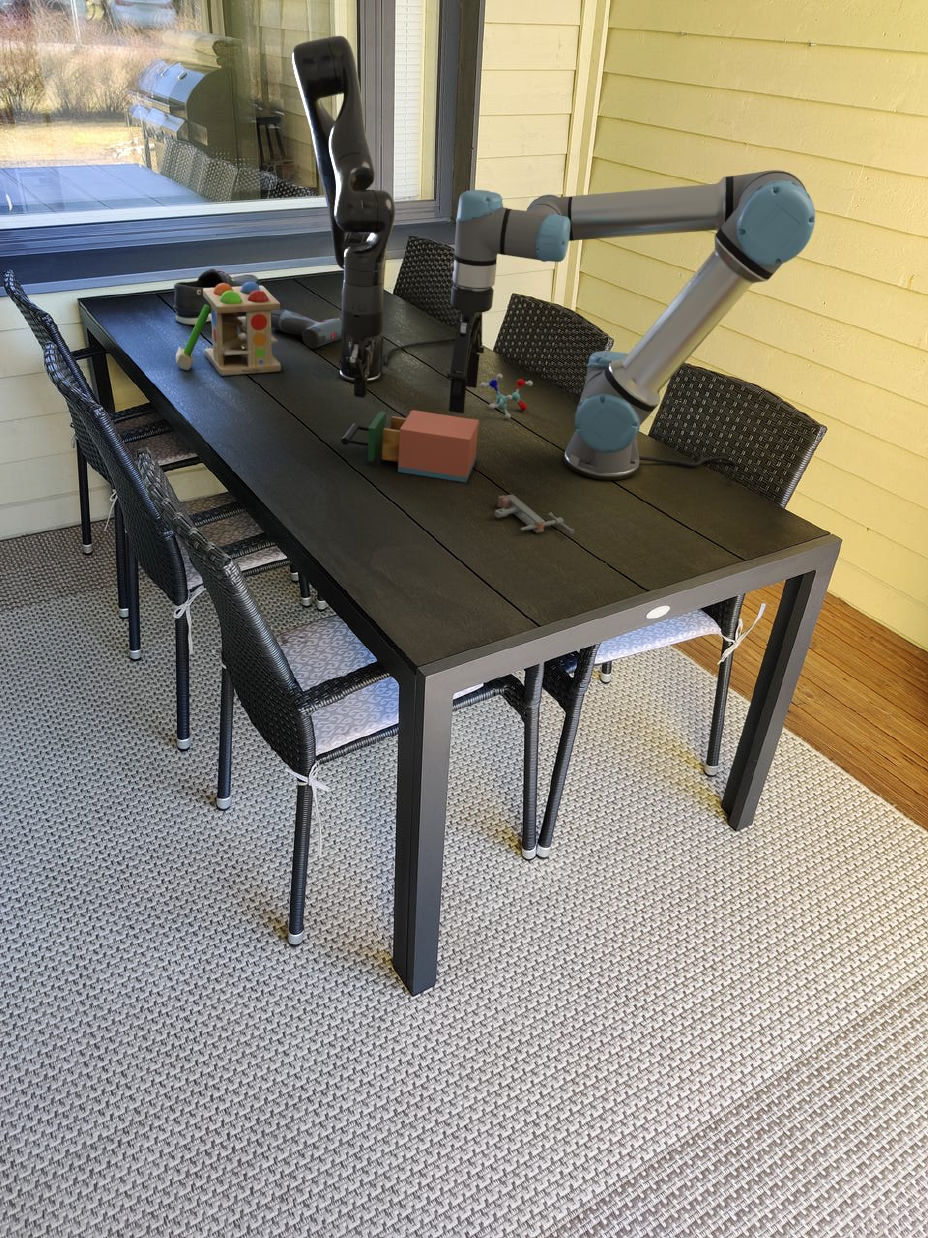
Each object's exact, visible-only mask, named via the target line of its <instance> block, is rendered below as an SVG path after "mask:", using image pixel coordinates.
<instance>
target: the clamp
mask: <svg viewBox="0 0 928 1238" xmlns="http://www.w3.org/2000/svg"><path fill="white" fill-rule="evenodd" d="M497 508H498V509H495V510H494V516H495V517H496V518H497V519H499V518H505V517H507V516H508V515H512V514H513V515H514V516H516V517H517V518H518V519H519V520H521V522H523V523H524V524H525V526H523V527H520V531H521V532H523V531H531V530H532V531H534V532H535V533H536V534H537V533H538V534H540V533H542V532H544V531H545V527H549V526H562V527H563V528H564V529H565V530H567V531H568V533H569V534H570V535H573V534H574V533H575V529H574V528H570V527H569V526H568V525H566V524H565V523H564V519H563V518H562V517H561V516H560V517H556V516H555V515H554V514H553V512H549V513H548V514H547V517H548V518H551V520H548V521H546V520H545V519H543V518H542V517H541V516H540V515H539V514H537V513H536V512H535V511H534V510H532V509H531V508H530V507H529V506H528V505H526V504H525V503H524V502H523V501H522V500H520V499H519V498H518V497H517V496H515V495H514V494H508V495H499V496H498V499H497ZM552 519H553V520H552Z"/></svg>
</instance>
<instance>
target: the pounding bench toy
mask: <svg viewBox="0 0 928 1238" xmlns="http://www.w3.org/2000/svg"><path fill="white" fill-rule="evenodd" d="M203 296H204V297H205V299H206V300H207V301H208V302H209V304H210V305H211V307H210V306H208V305H204V307H203V309H202V311H201V314H200V316H199V318H198V320H197V322H196V324H194V327H193V329H192V331H191V332H190V333H191V334H190V336H189V338H188V340H187V343H186V344H185V347H184V348H182V347H180V346H179V347H178V349H177V351H176V354H175V357H174V358H175V362H176V365H177V366H178V368H179V369H182V370H185V371H189V370H190V369H191V367H192V365H193V363H194V356H193V351H194V348H195V347H196V345H197V342H198V340H199V337H200V336H201V333H202V332H203V329H204V326H205V325H206V323H207V322H206V320H207V318H209V320H210V321H209V322H211V336H212V337H211V338H212V339H211V340H212V348H205V349H204V352H205V353H204V355H205V357H206V359H208V361H209V363H210V364H211V365H212V366H213V367H214V369H215V370H216V371H217V372H218V374H219V375H220V376H222V377H223V376H234V375H235V376H236V375H246V374H247V375H250V374H262V373H275V372H281V370H282V364H281V363H280V362H279V360H278V359H277V358H276V357H275V356H274V355H273V348H272V347H273V345H272V344H276V343H278V342H279V341H278V339H277V338H276V337H275V336H274V334H272V327H271V310H280V309H281V304H280V301H278V300H277V299H276V297H274V296H273V295H272V294H271V293H270V292H269V290H268V289H267V288H266V287H264V285H261V286H258V285H257V284H256V283H254V282H247V283H245V284H244V285H243V286H242V287H231V286H230V285H228V284H226V283H221V284H218V285H217V286H216V287H215V288H204V289H203ZM210 310H211V314H209V312H210ZM238 313H244V314H245V315H244V316H238ZM238 329H239V331H240V333H239V334H238Z"/></svg>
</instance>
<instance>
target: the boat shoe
mask: <svg viewBox="0 0 928 1238" xmlns="http://www.w3.org/2000/svg"><path fill="white" fill-rule="evenodd" d="M247 282H254V283H256V284H257V285H258V286H262V283H261V281H260V280H259V278H258V277H257V276H256V275H254V274H241V275H237V276H233V277H232V276H230V274H228V273H227V272H225V271H222V270H218V269H214V268H210V269H207V270H205V271H204V272H202V273H201V274H200V275H199V276H198V278H197V280H191V281H179V282H175V283H174V284H173V289H174V305H173V309H174V310H175V311H176V312H175V320H176V321H177V322H179V323H180V324H184V325H195V324H196V322H197V320H198V318H199V316H200V314H201V311H202V309H203V307H204V305H208V306H210V307H211V305H210V304H209V302H208V301H207V300H206V299H205V297H204V296H203V289H204V288H215V287H216V286H217V285H218V284H221V283H226V284H228V285H230V286H231V287H242V286H243V285H244V284H245V283H247ZM209 314H211V310H210V312H209ZM207 322H211V321H210V320H209V318H207V320H206V322H205V323H207Z"/></svg>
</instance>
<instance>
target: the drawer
mask: <svg viewBox="0 0 928 1238" xmlns="http://www.w3.org/2000/svg"><path fill="white" fill-rule="evenodd" d="M406 419H407V417H402V416H396V415H395V416H394V415H392V416H391V417H390V428H387V426H386V425H387V424H386V422H387V421H386V420H387V412H386V411H382V410H380V411H378V414H377V415H376V417H374V419H373V421H372V422H371V424H370V425H369V426H363V425H360V424H359V423H358V422H354V423H352V425H351V426H350V427H349V429H348V430H347V431H346V433H345V434H344V436H343V437H342V438H341V440H340V441H341V442H340V443H341V444H342V445H344V446H347V445H348V444H353V445H359V446H365V447H367V461H368V462H375V460H376V458H378V455H379V454H380V452H381V451H382V452H381V460H383V461H384V460H385V461H390V462H398V460H399V440H400V429H401V427H402V425H403V424H404V422H405V421H406ZM359 430H360V431H366V432H368V438H367V439H368V440H367V441H364V440H357V439H353V438H354V436H355V435H356V433H357V432H358V431H359Z"/></svg>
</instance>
